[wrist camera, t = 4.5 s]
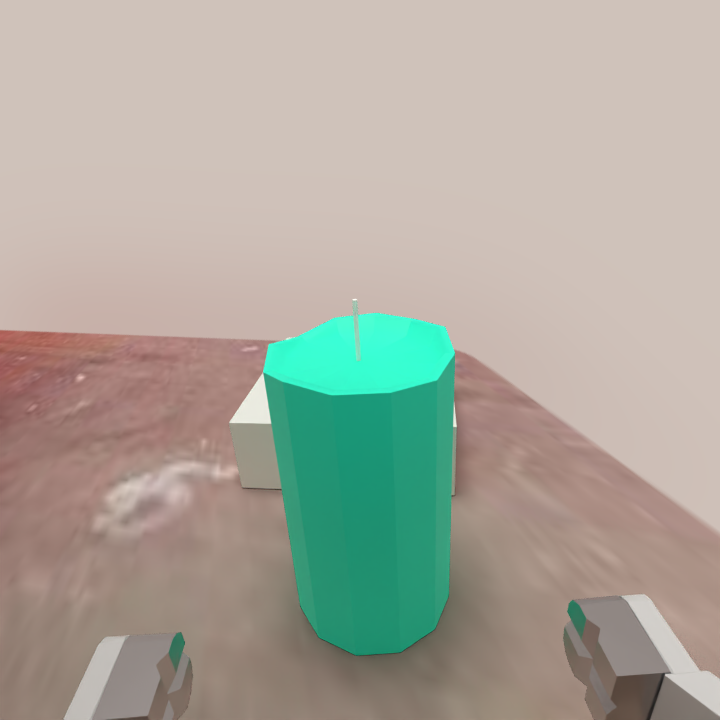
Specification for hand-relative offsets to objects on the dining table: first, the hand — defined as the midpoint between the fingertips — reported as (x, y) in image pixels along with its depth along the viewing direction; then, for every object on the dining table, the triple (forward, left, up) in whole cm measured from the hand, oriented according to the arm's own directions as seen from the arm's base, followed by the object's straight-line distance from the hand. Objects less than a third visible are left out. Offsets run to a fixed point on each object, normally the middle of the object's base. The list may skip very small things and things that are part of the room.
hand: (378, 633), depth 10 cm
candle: (-1, +7, -7) cm, 10 cm away
